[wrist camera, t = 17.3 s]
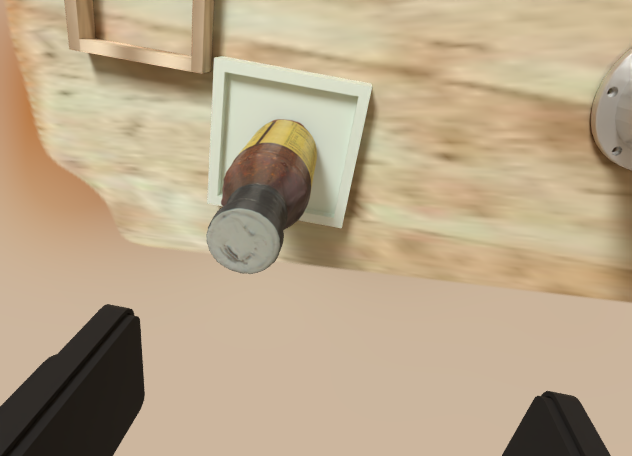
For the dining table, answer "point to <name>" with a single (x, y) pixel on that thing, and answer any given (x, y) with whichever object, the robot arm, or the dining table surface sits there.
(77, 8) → the tan flat square frame
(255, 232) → the sauce bottle
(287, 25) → the dining table surface
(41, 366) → the robot arm
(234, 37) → the dining table surface
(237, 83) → the shallow square tray
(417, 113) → the dining table surface
